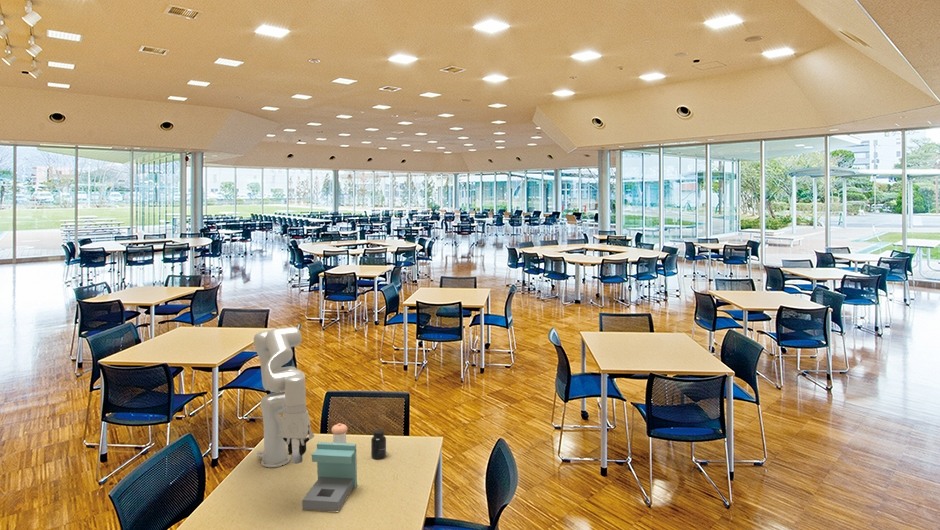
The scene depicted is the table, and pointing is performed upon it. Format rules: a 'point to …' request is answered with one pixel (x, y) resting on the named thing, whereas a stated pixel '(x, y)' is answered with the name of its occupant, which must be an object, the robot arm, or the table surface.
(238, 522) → the table surface
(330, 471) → the socket stand
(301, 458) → the peg
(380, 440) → the supplement bottle
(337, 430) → the salt shaker
